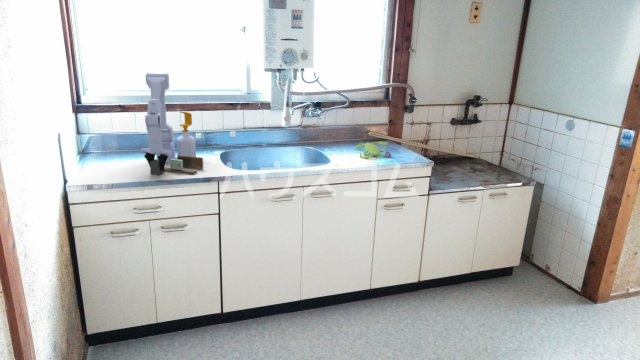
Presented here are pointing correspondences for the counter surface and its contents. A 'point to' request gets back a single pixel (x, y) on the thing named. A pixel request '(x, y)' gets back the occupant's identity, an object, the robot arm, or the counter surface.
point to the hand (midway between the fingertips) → (157, 169)
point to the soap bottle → (186, 139)
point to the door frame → (188, 164)
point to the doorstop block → (155, 167)
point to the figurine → (372, 149)
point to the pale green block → (176, 164)
